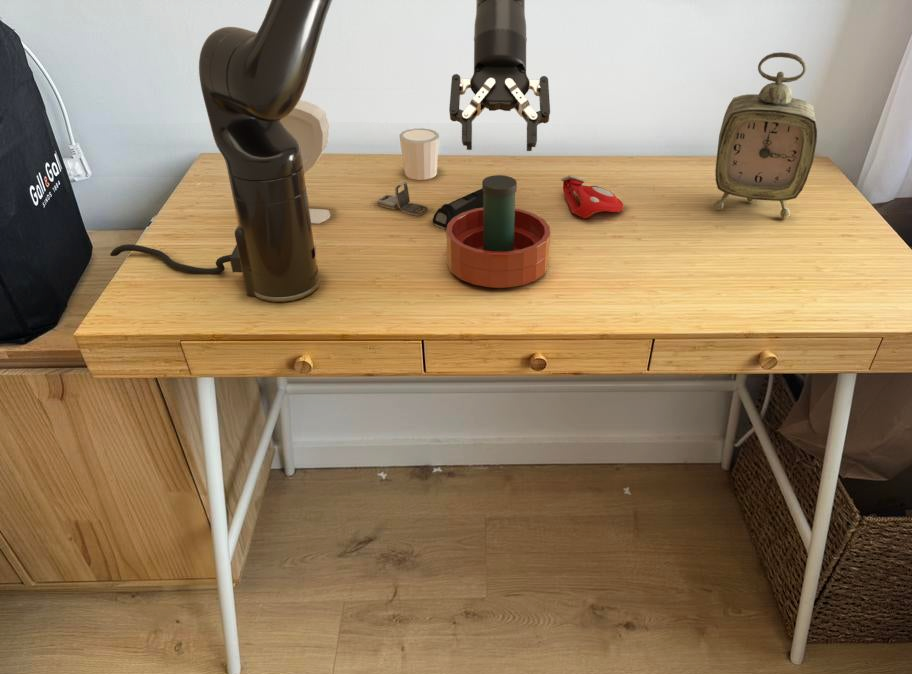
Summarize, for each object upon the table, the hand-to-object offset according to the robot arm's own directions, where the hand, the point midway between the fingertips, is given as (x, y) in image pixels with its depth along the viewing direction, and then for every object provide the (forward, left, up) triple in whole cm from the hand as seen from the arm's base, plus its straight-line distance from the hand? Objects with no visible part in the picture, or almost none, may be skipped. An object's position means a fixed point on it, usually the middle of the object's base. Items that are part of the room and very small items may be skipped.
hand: (499, 148), depth 115 cm
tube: (0, -7, -14) cm, 16 cm away
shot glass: (-14, +26, -15) cm, 33 cm away
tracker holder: (+15, +14, -15) cm, 26 cm away
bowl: (0, -7, -15) cm, 17 cm away
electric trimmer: (-5, +11, -15) cm, 19 cm away
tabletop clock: (+42, +14, -15) cm, 47 cm away
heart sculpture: (-34, +9, -15) cm, 38 cm away
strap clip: (-16, +12, -15) cm, 25 cm away
